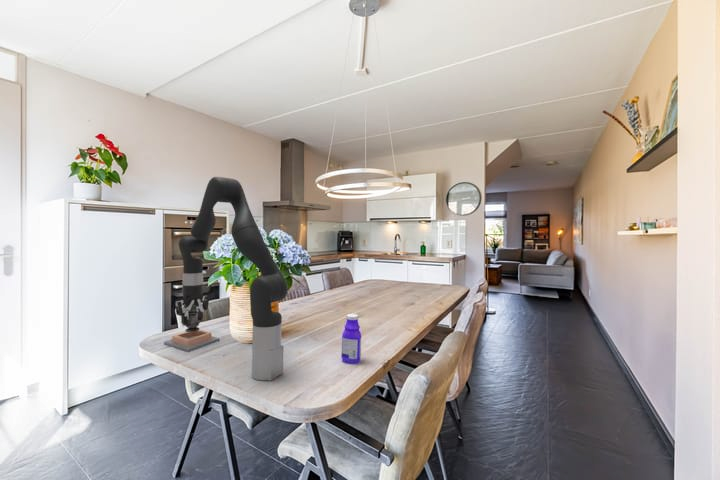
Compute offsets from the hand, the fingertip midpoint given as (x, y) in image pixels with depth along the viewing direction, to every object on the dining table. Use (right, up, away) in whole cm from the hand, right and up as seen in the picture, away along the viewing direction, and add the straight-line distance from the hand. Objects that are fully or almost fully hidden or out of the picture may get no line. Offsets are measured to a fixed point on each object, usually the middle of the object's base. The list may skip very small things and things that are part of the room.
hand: (192, 322), depth 122 cm
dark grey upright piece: (0, -3, 0) cm, 3 cm away
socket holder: (0, -9, 0) cm, 9 cm away
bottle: (+68, -11, -14) cm, 70 cm away
